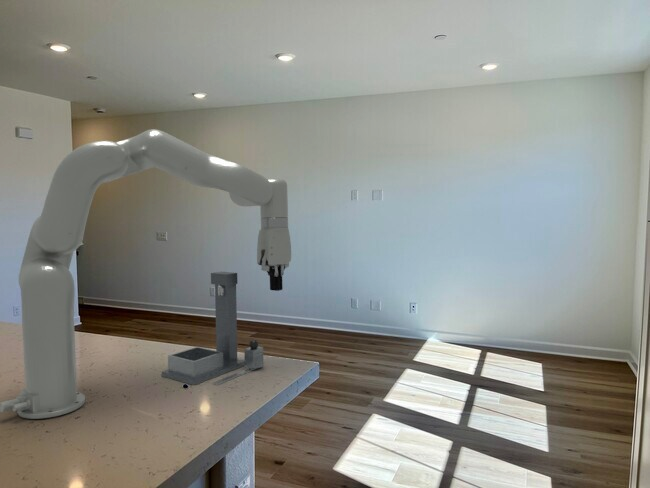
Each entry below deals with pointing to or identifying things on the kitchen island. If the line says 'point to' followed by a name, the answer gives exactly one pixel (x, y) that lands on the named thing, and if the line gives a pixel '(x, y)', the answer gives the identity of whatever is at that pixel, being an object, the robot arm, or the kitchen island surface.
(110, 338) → the kitchen island surface
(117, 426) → the kitchen island surface
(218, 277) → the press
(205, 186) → the robot arm
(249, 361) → the lever
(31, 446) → the kitchen island surface
